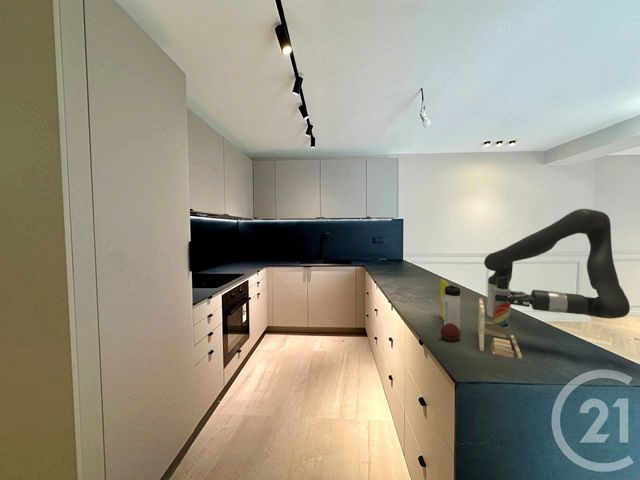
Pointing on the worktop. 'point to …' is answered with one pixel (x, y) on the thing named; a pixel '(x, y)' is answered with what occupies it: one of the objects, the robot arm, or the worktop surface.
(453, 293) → the travel mug
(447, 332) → the potato
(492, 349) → the offcut
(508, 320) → the lotion bottle
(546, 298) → the robot arm
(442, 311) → the food package
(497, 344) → the offcut
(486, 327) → the rack
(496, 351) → the offcut
